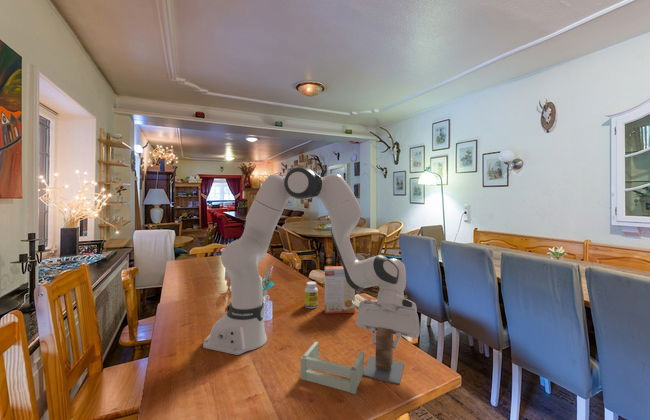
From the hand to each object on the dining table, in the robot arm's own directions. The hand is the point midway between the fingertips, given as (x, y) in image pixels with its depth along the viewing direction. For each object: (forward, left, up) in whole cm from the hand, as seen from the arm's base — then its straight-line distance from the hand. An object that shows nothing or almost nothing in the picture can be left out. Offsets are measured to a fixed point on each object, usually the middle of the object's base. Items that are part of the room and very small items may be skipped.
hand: (384, 345), depth 89 cm
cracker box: (-17, +44, -8) cm, 47 cm away
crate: (-15, -5, -8) cm, 18 cm away
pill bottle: (-31, +48, -8) cm, 57 cm away
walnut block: (0, +1, -6) cm, 6 cm away
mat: (0, +1, -8) cm, 8 cm away
